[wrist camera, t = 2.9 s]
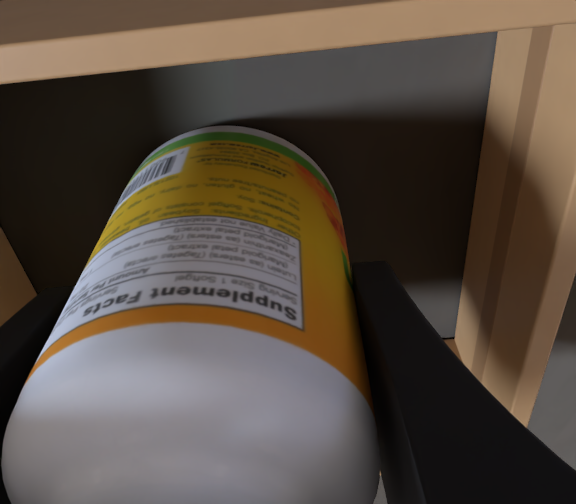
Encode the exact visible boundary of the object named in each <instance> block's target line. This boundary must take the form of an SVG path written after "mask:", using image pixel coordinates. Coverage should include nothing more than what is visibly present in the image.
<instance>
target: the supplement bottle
mask: <svg viewBox="0 0 576 504" xmlns="http://www.w3.org/2000/svg"><path fill="white" fill-rule="evenodd" d="M1 467H2V476H3V482H4V485H5V488H6V491H7V494H8V497H9V500H10V502H11V504H373V502H374V499H375V497H376V494H377V489H378V484H379V478H380V452H379V443H378V436H377V426H376V420H375V414H374V407H373V401H372V395H371V389H370V383H369V377H368V371H367V365H366V359H365V353H364V347H363V341H362V335H361V330H360V325H359V319H358V313H357V307H356V301H355V295H354V289H353V281H352V275H351V269H350V263H349V256H348V250H347V244H346V238H345V232H344V228H343V221H342V217H341V213H340V208H339V204H338V201H337V198H336V195H335V192H334V190H333V188H332V186H331V184H330V182H329V180H328V178H327V177H326V176H325V174H324V173H323V171H322V170H321V169H320V168H319V166H318V165H317V164H316V163H315V162H314V161H313V160H312V159H311V158H310V157H309V156H308V155H307V154H306V153H304V152H303V151H302V150H300V149H299V148H297V147H296V146H295V145H293V144H291V143H290V142H288V141H286V140H284V139H282V138H280V137H277V136H275V135H272V134H270V133H267V132H264V131H260V130H257V129H252V128H247V127H241V126H212V127H205V128H200V129H196V130H192V131H190V132H187V133H184V134H181V135H179V136H177V137H175V138H173V139H171V140H169V141H167V142H166V143H164V144H162V145H161V146H159V147H158V148H157V149H156V150H154V151H153V152H152V153H151V154H150V155H149V156H148V157H147V158H146V159H145V160H144V161H143V162H142V163H141V165H140V166H139V167H138V169H137V170H136V172H135V173H134V175H133V176H132V178H131V179H130V181H129V183H128V184H127V186H126V188H125V190H124V191H123V193H122V195H121V197H120V199H119V201H118V203H117V205H116V206H115V208H114V210H113V212H112V214H111V216H110V218H109V221H108V223H107V225H106V227H105V229H104V231H103V233H102V235H101V237H100V239H99V241H98V243H97V244H96V246H95V248H94V250H93V252H92V254H91V256H90V258H89V260H88V262H87V264H86V266H85V268H84V270H83V272H82V274H81V276H80V278H79V280H78V282H77V284H76V286H75V288H74V290H73V292H72V293H71V295H70V297H69V299H68V301H67V303H66V305H65V307H64V309H63V311H62V313H61V315H60V317H59V319H58V321H57V323H56V325H55V326H54V328H53V330H52V332H51V334H50V336H49V338H48V340H47V342H46V344H45V346H44V347H43V349H42V351H41V353H40V355H39V357H38V359H37V360H36V362H35V365H34V367H33V369H32V370H31V372H30V374H29V376H28V378H27V380H26V382H25V384H24V387H23V389H22V391H21V393H20V395H19V397H18V400H17V403H16V405H15V407H14V409H13V412H12V414H11V417H10V419H9V422H8V425H7V427H6V431H5V435H4V439H3V448H2V460H1Z"/></svg>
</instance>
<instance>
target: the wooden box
mask: <svg viewBox="0 0 576 504" xmlns="http://www.w3.org/2000/svg"><path fill="white" fill-rule="evenodd" d="M496 31H498V35H497V42H496V49H495V56H494V63H493V70H492V77H491V84H490V92H489V99H488V106H487V113H486V120H485V127H484V134H483V141H482V148H481V155H480V162H479V169H478V176H477V184H476V191H475V198H474V205H473V212H472V219H471V226H470V233H469V240H468V247H467V254H466V261H465V268H464V275H463V283H462V290H461V297H460V304H459V311H458V318H457V325H456V332H455V339H447V340H444V342H445V343H446V344H447V345H448V347H449V348H450V349H451V350H452V351H453V352H454V354H455V355H456V356H457V357H458V358H459V359H460V360H461V362H462V363H463V364H464V365H465V366H466V367H467V368H468V369H469V370H470V372H471V373H472V374H473V375H474V376H475V377H476V378H477V379H478V380H479V381H480V382H481V383H482V385H483V386H484V387H485V388H486V389H487V390H488V391H489V392H490V393H491V394H492V395H493V396H494V397H495V398H496V399H497V400H498V401H499V402H500V403H501V404H502V405H503V406H504V407H505V408H506V409H507V410H508V411H509V412H510V413H511V414H512V415H513V416H514V417H516V418H517V419H518V420H519V421H520V422H521V423H522V424H523V425H524V426H525V427H526V428H527V426H528V423H529V420H530V417H531V414H532V410H533V407H534V404H535V401H536V398H537V395H538V391H539V388H540V385H541V382H542V379H543V375H544V372H545V369H546V366H547V363H548V360H549V356H550V353H551V350H552V347H553V344H554V341H555V337H556V334H557V331H558V328H559V325H560V321H561V318H562V315H563V312H564V309H565V306H566V302H567V299H568V296H569V293H570V290H571V287H572V283H573V280H574V277H575V274H576V0H1V1H0V84H9V83H18V82H27V81H37V80H46V79H56V78H65V77H74V76H84V75H93V74H102V73H112V72H121V71H131V70H140V69H149V68H159V67H168V66H177V65H187V64H196V63H206V62H215V61H224V60H234V59H243V58H252V57H262V56H271V55H281V54H290V53H299V52H309V51H318V50H327V49H337V48H346V47H356V46H365V45H374V44H384V43H393V42H402V41H412V40H421V39H431V38H440V37H449V36H459V35H468V34H478V33H487V32H496ZM36 296H37V293H36V292H35V290H34V288H33V286H32V284H31V282H30V280H29V279H28V277H27V275H26V273H25V271H24V269H23V267H22V266H21V264H20V262H19V260H18V258H17V256H16V254H15V253H14V251H13V249H12V247H11V245H10V243H9V241H8V240H7V238H6V236H5V234H4V232H3V230H2V228H1V227H0V326H2V325H3V324H4V323H5V322H6V321H7V320H8V319H10V318H11V317H12V316H13V315H14V314H15V313H17V312H18V311H19V310H20V309H21V308H22V307H24V306H25V305H26V304H27V303H28V302H29V301H31V300H32V299H33V298H34V297H36ZM380 475H381V472H380Z"/></svg>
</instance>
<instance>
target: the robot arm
mask: <svg viewBox="0 0 576 504" xmlns="http://www.w3.org/2000/svg"><path fill="white" fill-rule="evenodd" d="M352 271H353V289H354V295H355V301H356V307H357V313H358V319H359V325H360V330H361V335H362V341H363V347H364V353H365V359H366V365H367V371H368V377H369V383H370V389H371V395H372V401H373V407H374V414H375V420H376V426H377V436H378V443H379V452H380V472H381V476H382V480H383V484H384V489H385V493H386V498H387V503H388V504H576V471H575V470H574V469H573V468H572V467H570V466H569V465H568V464H567V463H565V462H564V461H563V460H562V459H561V458H559V457H558V456H557V455H556V454H555V453H554V452H553V451H552V450H550V449H549V448H548V447H547V446H546V445H545V444H544V443H543V442H542V441H540V440H539V439H538V438H537V437H536V436H535V435H534V434H533V433H532V432H530V431H529V430H528V429H527V428H526V427H525V426H524V425H523V424H522V423H521V422H520V421H519V420H518V419H517V418H516V417H514V416H513V415H512V414H511V413H510V412H509V411H508V410H507V409H506V408H505V407H504V406H503V405H502V404H501V403H500V402H499V401H498V400H497V399H496V398H495V397H494V396H493V395H492V394H491V393H490V392H489V391H488V390H487V389H486V388H485V387H484V386H483V385H482V383H481V382H480V381H479V380H478V379H477V378H476V377H475V376H474V375H473V374H472V373H471V372H470V370H469V369H468V368H467V367H466V366H465V365H464V364H463V363H462V362H461V360H460V359H459V358H458V357H457V356H456V355H455V354H454V352H453V351H452V350H451V349H450V348H449V347H448V345H447V344H446V343H445V342H444V340H443V339H442V338H441V337H440V335H439V334H438V333H437V332H436V331H435V329H434V328H433V327H432V326H431V324H430V323H429V322H428V321H427V319H426V318H425V317H424V315H423V314H422V313H421V311H420V310H419V309H418V307H417V306H416V304H415V303H414V302H413V300H412V299H411V298H410V296H409V295H408V293H407V292H406V290H405V289H404V287H403V286H402V284H401V283H400V281H399V280H398V278H397V276H396V275H395V273H394V272H393V270H392V268H391V266H390V265H389V264H388V263H386V262H385V261H377V262H364V263H352ZM74 288H75V286H69V287H56V288H46V289H45V290H43V291H42V292H41V293H39V294H38V295H37V296H36V297H34V298H33V299H32V300H31V301H29V302H28V303H27V304H26V305H25V306H24V307H22V308H21V309H20V310H19V311H18V312H17V313H15V314H14V315H13V316H12V317H11V318H10V319H8V320H7V321H6V322H5V323H4V324H3V325H2V326H0V504H11V502H10V500H9V497H8V494H7V491H6V488H5V485H4V482H3V476H2V467H1V460H2V448H3V439H4V435H5V431H6V427H7V425H8V422H9V419H10V417H11V414H12V412H13V409H14V407H15V405H16V403H17V400H18V397H19V395H20V393H21V391H22V389H23V387H24V384H25V382H26V380H27V378H28V376H29V374H30V372H31V370H32V369H33V367H34V365H35V362H36V360H37V359H38V357H39V355H40V353H41V351H42V349H43V347H44V346H45V344H46V342H47V340H48V338H49V336H50V334H51V332H52V330H53V328H54V326H55V325H56V323H57V321H58V319H59V317H60V315H61V313H62V311H63V309H64V307H65V305H66V303H67V301H68V299H69V297H70V295H71V293H72V292H73V290H74Z"/></svg>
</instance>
